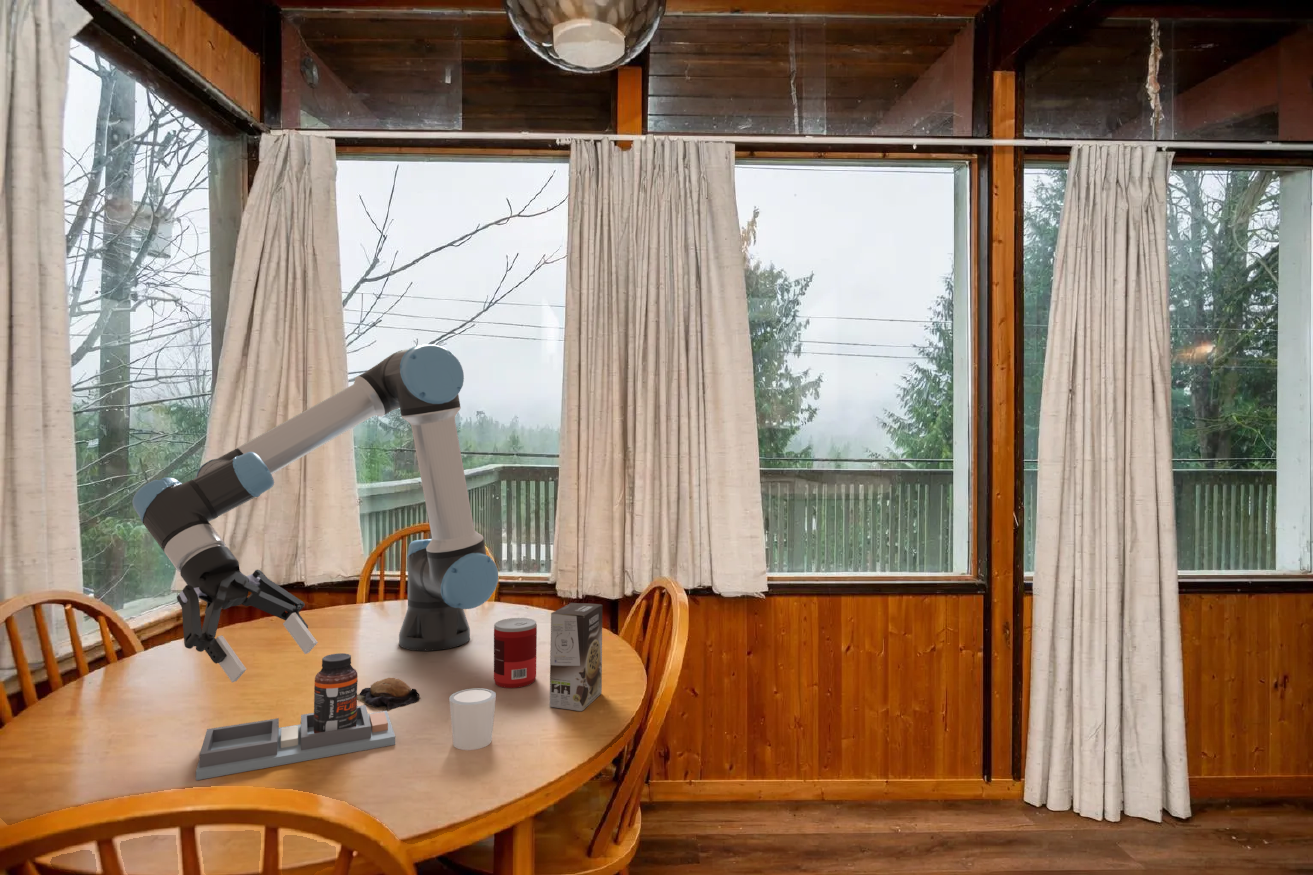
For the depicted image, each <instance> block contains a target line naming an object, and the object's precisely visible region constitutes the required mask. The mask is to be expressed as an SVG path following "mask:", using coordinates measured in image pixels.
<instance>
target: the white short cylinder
mask: <svg viewBox="0 0 1313 875" xmlns="http://www.w3.org/2000/svg"><path fill="white" fill-rule="evenodd" d="M496 694H497V693H496V691H494V690H492V689H489V688H488V689H487V688H481V687H480V688H478V687H475V688H467V689H466V688H465V689H462V690H458V691H456V692H453V693H452V694H451V695H450V696H449V697H448V698H449V699H448V700H449V711H450V712H449V713H450V722H451V733H452V734H451V735H452V745H453V747H454V748H455V749H459V750H461V751H475V750H479V749H483V748H485V747H487V746H490V744H491V743H492V740H493V738H492V737H493V732H494V730H493V729H494V721H495V720H494V718H495V708H496V701H497V700H496V698H497V695H496Z"/></svg>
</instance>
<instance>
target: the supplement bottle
mask: <svg viewBox="0 0 1313 875" xmlns="http://www.w3.org/2000/svg"><path fill="white" fill-rule="evenodd" d="M321 660H322V661H321V669H320V671H318V672H317V674H315V677H314V688H313V689H314V692H313V694H314V697H313V713H314V733H320V732H326V731H332V730H338V729H344V728H350V727H356V722H357V706H358V700H357V695H358V671H357V669H356V668H354V667H353V666H352V655H351V654H350V653H340V652H339V653H338V652H337V653H332V654H327V655H324V656H323V657H322V659H321Z"/></svg>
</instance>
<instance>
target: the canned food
mask: <svg viewBox="0 0 1313 875" xmlns="http://www.w3.org/2000/svg"><path fill="white" fill-rule="evenodd" d="M537 625H538V624H537V621H536V620H535V619H532V618H527V617H511V618H505V619H504V618H503V619H501V620H498V621H496V622H495V623H494V625H493V626H494V627H493V680H494V684H495V685H496V686H498V687H500V688H504V689H505V688H506V689H517V688H523V687H527V686H530V685H532V684H533V683H534V682H535V681H536V677H537V646H538V645H537V642H538V641H537V640H538V639H537V638H538V637H537V635H538V633H537V632H538V629H537V627H538V626H537Z"/></svg>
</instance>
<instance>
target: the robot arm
mask: <svg viewBox="0 0 1313 875" xmlns="http://www.w3.org/2000/svg"><path fill="white" fill-rule="evenodd" d="M464 377H465V376H464V370H463V366H462V364H461V362H460V360H459V359H458V357H457V356H456V355H455V354H454V353H453V352H451V351H450V350H449V349H447V348H446V347H443V346H441V345H437V344H420V345H415V346H412V347H410V348H407V349H406V348H405V349H403V350H398V351H396V352H394V353H391V355H389V356H387V357H386V358H384V359H383V360H381V361H380V362H379V363H377V364H376V365H374V366H373V367H370V369H368V370H366V371H365V372H363V373H361V374H360V375H358V376H356V377H355V378H354V382H353V384H351V385H350V386H348V387H346V388H344V389H341V391H339V392H337V393H335V394H333V395H332V396H330V397H328V398H326V399H324V400H322V401H320V402H318V403H317V404H315V405H313V406H311V407H309V408H308V409H306V410H304V411H302V412H300V413H299V414H297V415H295V416H293V417H291V418H289V419H287V420H285V421H283V422H282V423H280V424H278V425H276V426H274V427H272V428H270V429H269V430H267V431H265V432H264V433H262V434H260V435H258V436H256V437H254V438H253V439H251V440H249V441H247V442H245V443H244V444H241V445H239V446H238V447H236V448H235V449H233V450H231V451H229V452H227V453H225V454H223V455H221V456H219V457H218V458H215V459H210V460H208V461H207V462H205V463H204V464H202V465H201V466H199V468H198V470H197V472H196V474H195V478H193V479H189V480H188V481H185V482H183V483H182V482H180V481H179V480H178V479H176V478H174V477H162V478H160V479H153V480H152V481H149V482H148V483H145V484H144V485H143V486H141V487H140V488H139V489H138V490H136V492H135V494H134V495H133V498H132V500H131V501H132V508H133V510H134V511H135V512H136V514H137V516H138V517H139V519H140V521H141V522H142V524H143V525H144V527H145V528H146V529H147V531H148V532H149V533H150V535H151V536H152V538H153V539H154V540H155V542H156V543H157V544H158V546H159V547H160V548H161V550H162V551H163V552H164V554H165V555H166V557H167V558H168V560H169V561H170V562H171V564H172V565H173V566H174V568H175V569H176V571H177V572H180V574H179V575H180V577H181V579H183V581H184V582H185V584H186V585H185V586H184V587H183V588H182V590H181V591H180V592H179V594H177V596H176V599H177V601H178V604H179V605H180V607H181V614H182V616H181V617H182V628H183V642H184V647H185V648H186V649H189V650H191V649H193V647H195V650H196V651H197V652H200V653H202V652H204V651H205V653H206V654H207V656H209V658H210V660H211V661H212V662H213V663H214V664H216V665H217V664H218V665H219V667H221V669H222V670H223V672H224V673H225V675H226V676H227V677H228V678H229V680H230V682H231V683H235V682H237V681H238V680H239V679H240V677H242V675H243V674H244V673H245V672H246V670H247V667H246V666H245V664H244V663H243V662H242V661H241V659H240V658H239V656H238V655H237V654H236V652H235V651H234V649H233V648H232V647H231V645H230V644H229V643H228V641H227V640H226V638H225V637H224V636H223V635H219V636H217V630H218V627H219V621H220V618H221V617H220V616H221V612H222V610H227V609H229V608H231V607H236V606H237V607H238V606H241V605H242V606H245V607H249V606H251V607H254V608H256V609H258V610H260V611H263V612H265V613H267V614H270V615H272V616H274V617H276V618H279V619H281V620H283V621H284V622H283V623H282V626H284V628H285V629H286V631H287V632H288V633H289V634H290V636H291V637H292V638H293V640H294V641H295V643H296V644H297V645H298V647H299V648H300V650H301V651H302V652H303V653H304V655H306V654H309V653H310V652H311V651H312V650H313V649H314V648H315V646H317V644H318V643H319V642H318V641H317V639H316V638H315V637H314V635H313V634H312V633H311V631H310V630H309V625H308V624H307V622H306V621H305V620H304V618H303V617H302V616H301V615H300V612H301V610H302V609H303V608H304V607H305V602H304V601H302V600H301V599H300V598H298V597H296V596H295V595H294V594H292V593H291V592H288V590H286V589H284V588H283V587H281V585H278V584H277V583H276V582H274V581H272V580H271V579H270V578H268V577H267V576H266V575H265V573H264V572H263V571H262V570H261V569H255V570H254V571H253V573H252V574H249V575H246V574H244V573H242V572H241V569H240V562H239V560H238V559H237V557H236V556H235V555H234V554H233V552H232V551H231V550H230V548H229V547H227V545H226V543H225V541H224V539H222V537H221V536H220V534H219V533H218V532H217V531H216V529H215V528H214V527H213V525H212V524H211V521H213V520H215V519H217V518H219V517H220V516H223V515H224V514H226V513H227V512H230V511H232V510H234V509H236V508H237V507H239V506H241V505H243V504H245V503H247V502H249V501H251V500H253V499H255V498H258V497H260V496H261V495H262V494H264V493H265V492H267V491H269V490H270V489H272V488H273V486H274V485H275V480H274V477H273V474H276V473H277V472H278V471H280V470H282V469H284V468H285V467H287V466H289V465H291V464H292V463H295V462H296V461H298V460H299V459H301V458H303V457H305V456H306V455H308V454H310V453H311V452H313V451H315V450H316V449H319V448H320V447H322V446H324V445H326V444H328V443H329V442H330V441H332V440H334V439H336V438H338V437H339V436H341V435H343V434H344V433H346V432H348V431H350V430H351V429H353V428H355V427H356V426H358V425H360V424H361V423H364V422H365V421H367V420H369V419H370V418H373V417H376V416H377V417H384V416H386V415H387V414H390V413H391V412H392V411H393V412H394V411H395V410H398V409H399V411H400V415H401V418H402V419H404V420H405V421H406V422H408V423H409V424H410V426H411V432H412V436H413V437H412V438H413V442H414V443H413V444H414V447H415V449H414V450H415V453H416V458H417V464H418V470H419V476H420V480H421V486H422V490H423V491H422V492H423V496H424V501H425V502H424V503H425V508H426V513H427V518H428V522H429V529H430V535H431V538H427V539H426V538H425V539H417V540H416V539H415V540H413V541H411V542H410V543H409V544H408V550H407V554H406V558H407V610H406V613H405V615H404V619H403V620H402V625H401V627H400V630H399V632H398V633H399V634H398V645H399V646H400V647H401V648H403V649H406V650H410V651H411V650H412V651H427V652H428V651H439V650H448V649H452V648H457V647H459V646H462V645H465V644H466V643H468V642H469V641H470V639H471V629H470V626H469V622H468V619H467V616H466V612H465V610H471V609H474V608H477V607H480V606H482V605H483V604H484V603H486V602H487V601H488V600H489V599H490V598H492V595H493V593H494V592H495V591H496V588H497V586H498V582H499V569H498V567H497V565H496V563H495V561H494V560H493V558H492V557H490V556H489V555H487V549H486V545H485V540H484V536H483V534H481V533H479V532H477V530H475V527H474V521H473V515H472V509H471V504H470V498H469V492H468V487H467V486H468V485H467V481H466V476H465V475H466V474H465V470H464V464H463V459H462V452H461V447H460V441H459V435H458V431H457V423H456V415H457V414H458V413H459V412H460V410H461V403H460V402H461V401H460V396H459V394H460V392H461V391H462V388H463V386H464V382H465V381H464V380H465V378H464ZM249 592H250V595H249ZM200 600H202V601H204V602H206V606H205V609H204V614H205V615H204V619H203V623H202V621H201V608H200ZM216 636H217V637H216Z"/></svg>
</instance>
